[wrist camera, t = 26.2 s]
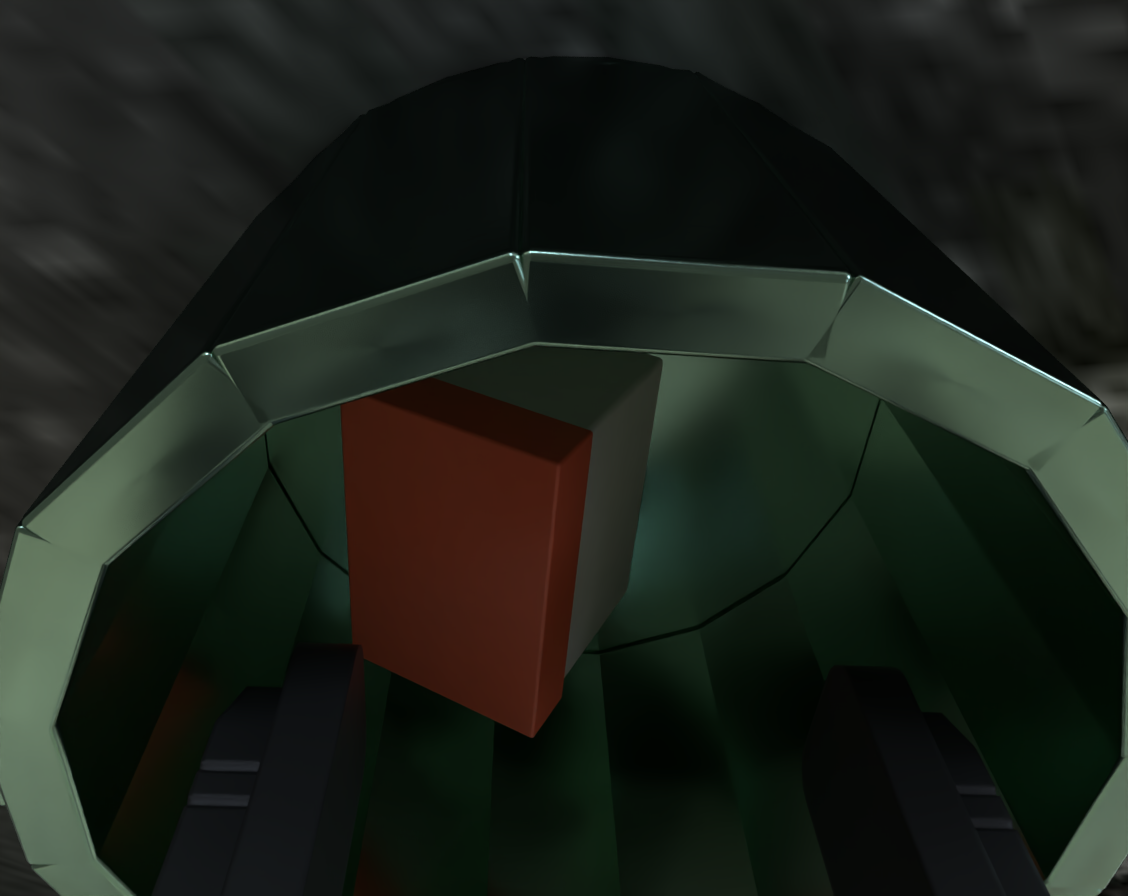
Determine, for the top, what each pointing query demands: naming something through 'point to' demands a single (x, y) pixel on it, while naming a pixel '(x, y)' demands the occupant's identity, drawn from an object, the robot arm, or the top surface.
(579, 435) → the block
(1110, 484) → the pot
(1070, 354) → the top surface
